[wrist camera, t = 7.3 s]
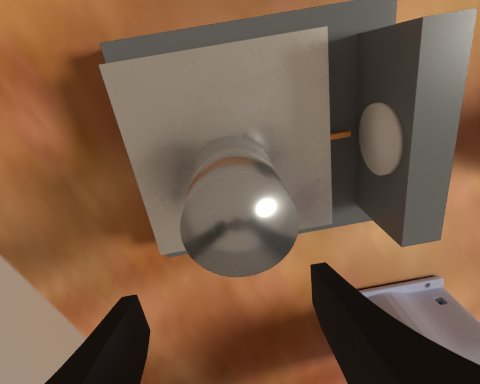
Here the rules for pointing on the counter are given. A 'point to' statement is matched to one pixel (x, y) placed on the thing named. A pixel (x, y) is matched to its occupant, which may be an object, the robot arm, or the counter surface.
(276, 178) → the steel weight
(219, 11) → the counter surface
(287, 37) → the scale pan
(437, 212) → the scale
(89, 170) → the counter surface
